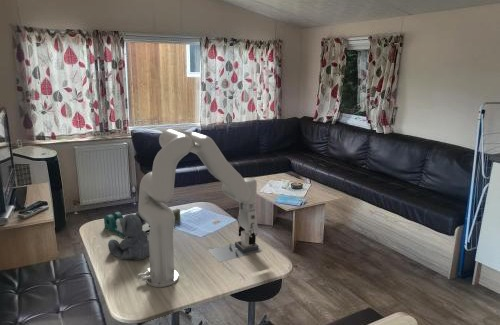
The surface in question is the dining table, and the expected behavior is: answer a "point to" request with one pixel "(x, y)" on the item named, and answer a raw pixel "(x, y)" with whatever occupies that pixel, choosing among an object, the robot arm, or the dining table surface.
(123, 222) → the koala plush
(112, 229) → the dark green rounded piece
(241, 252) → the grey base with tray
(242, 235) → the cream rectangular block
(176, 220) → the handheld radio
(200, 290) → the dining table surface
